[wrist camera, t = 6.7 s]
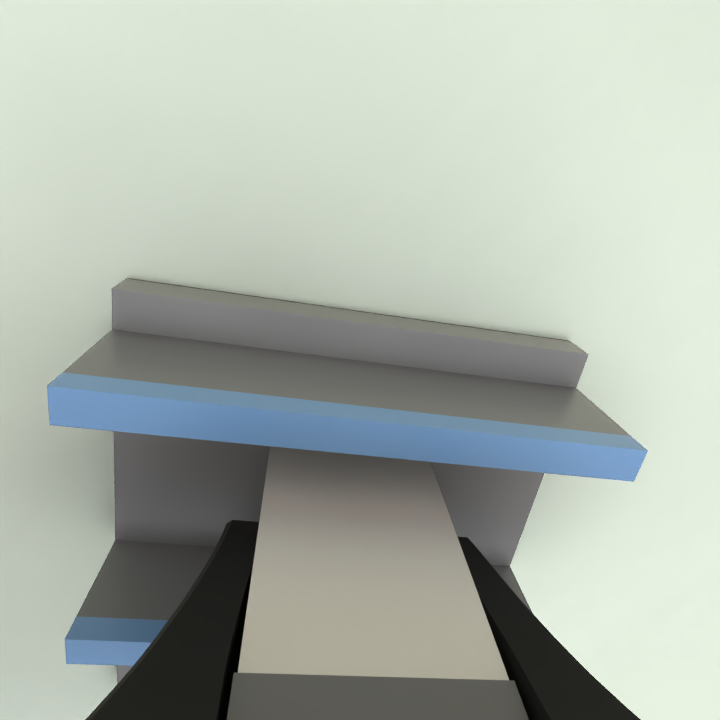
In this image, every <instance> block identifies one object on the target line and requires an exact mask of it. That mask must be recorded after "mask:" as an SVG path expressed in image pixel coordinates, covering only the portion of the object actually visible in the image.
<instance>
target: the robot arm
mask: <svg viewBox="0 0 720 720" xmlns="http://www.w3.org/2000/svg"><path fill="white" fill-rule="evenodd" d="M258 527H259V522H255V521H242V520H231V521H230V522H228V523H227V524H226V526H225V528H224V531H223V533H222V535H221V537H220V540H219V542H218V544H217V545H216V547H215V549H214V551H213V553H212V555H211V556H210V558H209V560H208V561H207V563H206V565H205V567H204V568H203V570H202V572H201V573H200V575H199V576H198V578H197V579H196V581H195V582H194V584H193V585H192V587H191V588H190V590H189V592H188V593H187V595H186V596H185V598H184V599H183V601H182V602H181V604H180V605H179V606H178V608H177V609H176V610H175V612H174V613H173V615H172V616H171V617H170V619H169V620H168V621H167V623H166V624H165V625H164V627H163V628H162V629H161V631H160V632H159V634H158V635H157V636H156V638H155V639H154V640H153V642H152V643H151V644H150V645H149V647H148V648H147V649H146V650H145V652H144V653H143V654H142V655H141V657H140V658H139V659H138V660H137V662H136V663H135V664H134V665H133V667H132V668H131V669H130V670H129V671H128V672H127V674H126V675H125V676H124V677H123V678H122V680H121V681H120V682H119V683H118V684H117V685H116V687H115V688H114V689H113V690H112V691H111V692H110V693H109V695H108V696H107V697H106V698H105V699H104V700H103V701H102V702H101V703H100V704H99V706H98V707H97V708H96V709H95V710H94V711H93V712H92V713H91V714H90V715H89V717H88V718H87V719H86V720H227V715H228V708H229V701H230V695H231V688H232V681H233V675H234V673H238V667H239V660H240V653H241V646H242V639H243V632H244V625H245V618H246V611H247V604H248V597H249V590H250V583H251V576H252V569H253V562H254V555H255V548H256V541H257V534H258ZM458 540H459V543H460V546H461V548H462V551H463V554H464V557H465V559H466V562H467V565H468V568H469V570H470V573H471V576H472V579H473V581H474V584H475V587H476V590H477V592H478V595H479V598H480V601H481V603H482V606H483V609H484V612H485V614H486V617H487V620H488V623H489V626H490V628H491V631H492V634H493V637H494V639H495V642H496V645H497V648H498V650H499V653H500V656H501V659H502V661H503V664H504V667H505V670H506V672H507V675H508V678H509V680H514V681H515V684H516V686H517V689H518V692H519V694H520V697H521V700H522V703H523V705H524V708H525V711H526V713H527V716H528V719H529V720H640V719H639V718H638V717H637V716H636V715H635V714H633V713H632V712H631V711H630V710H629V709H628V708H627V707H625V706H624V705H623V704H622V703H621V702H620V701H619V700H618V699H617V698H616V697H615V696H613V695H612V694H611V693H610V692H609V691H608V690H607V689H606V688H605V687H604V686H603V685H602V684H601V683H599V682H598V681H597V680H596V679H595V678H594V677H593V676H592V675H591V674H590V673H589V672H588V671H587V670H586V669H585V668H584V667H583V666H582V665H581V664H580V663H579V662H578V661H577V660H576V659H575V658H574V657H573V656H572V655H571V654H570V653H569V652H568V651H567V650H566V649H565V648H564V647H563V646H562V645H561V644H560V643H559V642H558V641H557V640H556V639H555V637H554V636H553V635H552V634H551V633H550V632H549V631H548V630H547V629H546V628H545V627H544V626H543V625H542V623H541V622H540V621H539V620H538V619H537V618H536V617H535V616H534V615H533V613H532V612H531V611H530V610H529V609H528V608H527V607H526V606H525V604H524V603H523V602H522V601H521V600H520V599H519V597H518V596H517V595H516V594H515V593H514V592H513V590H512V589H511V588H510V587H509V586H508V585H507V583H506V582H505V581H504V580H503V579H502V577H501V576H500V575H499V574H498V573H497V572H496V570H495V569H494V568H493V567H492V566H491V564H490V563H489V562H488V561H487V559H486V558H485V557H484V556H483V555H482V553H481V552H480V551H479V550H478V549H477V548H476V546H475V545H474V544H473V543H472V542H471V541H470V539H469V538H468V537H458Z"/></svg>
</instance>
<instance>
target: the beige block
mask: <svg viewBox="0 0 720 720" xmlns="http://www.w3.org/2000/svg"><path fill="white" fill-rule="evenodd" d="M227 720H529V719H528V716H527V713H526V711H525V708H524V705H523V703H522V700H521V697H520V694H519V692H518V689H517V686H516V684H515V681H514V680H509V678H508V675H507V672H506V670H505V667H504V664H503V661H502V659H501V656H500V653H499V650H498V648H497V645H496V642H495V639H494V637H493V634H492V631H491V628H490V626H489V623H488V620H487V617H486V614H485V612H484V609H483V606H482V603H481V601H480V598H479V595H478V592H477V590H476V587H475V584H474V581H473V579H472V576H471V573H470V570H469V568H468V565H467V562H466V559H465V557H464V554H463V551H462V548H461V546H460V543H459V540H458V537H457V534H456V532H455V529H454V526H453V523H452V521H451V518H450V515H449V512H448V510H447V507H446V504H445V501H444V499H443V496H442V493H441V490H440V488H439V485H438V482H437V479H436V477H435V474H434V471H433V468H432V466H431V463H430V462H427V461H417V460H407V459H396V458H386V457H376V456H365V455H355V454H345V453H334V452H324V451H314V450H304V449H293V448H283V447H273V446H270V450H269V457H268V464H267V471H266V478H265V485H264V492H263V499H262V506H261V513H260V520H259V527H258V534H257V541H256V548H255V555H254V562H253V569H252V576H251V583H250V590H249V597H248V604H247V611H246V618H245V625H244V632H243V639H242V646H241V653H240V660H239V667H238V673H234V675H233V681H232V688H231V695H230V701H229V708H228V715H227Z"/></svg>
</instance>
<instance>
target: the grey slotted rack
mask: <svg viewBox="0 0 720 720" xmlns="http://www.w3.org/2000/svg"><path fill="white" fill-rule="evenodd" d="M587 357H588V354H587V353H586V352H584V351H583V350H582V349H580V348H579V347H577V346H576V345H575V344H573V343H572V342H570V341H564V340H557V339H550V338H543V337H536V336H529V335H522V334H515V333H508V332H501V331H494V330H487V329H480V328H473V327H466V326H459V325H452V324H444V323H437V322H430V321H423V320H416V319H409V318H402V317H395V316H388V315H381V314H374V313H367V312H360V311H353V310H346V309H339V308H332V307H325V306H318V305H311V304H304V303H296V302H289V301H282V300H275V299H268V298H261V297H254V296H247V295H240V294H233V293H226V292H219V291H212V290H205V289H198V288H191V287H184V286H177V285H170V284H163V283H156V282H148V281H141V280H134V279H125V280H124V281H122V282H121V283H119V284H118V285H116V286H115V287H113V288H112V330H111V331H110V332H109V333H108V334H106V335H105V336H104V337H103V338H102V339H101V340H100V341H98V342H97V343H96V344H95V345H94V346H93V347H91V348H90V349H89V350H88V351H87V352H86V353H85V354H83V355H82V356H81V357H80V358H79V359H78V360H77V361H75V362H74V363H73V364H72V365H71V366H70V367H68V368H67V369H66V370H65V371H64V372H63V373H62V374H60V375H59V376H58V377H57V378H56V379H55V380H53V381H52V382H51V383H50V384H49V385H48V386H47V391H48V406H49V420H50V425H56V426H66V427H77V428H87V429H97V430H108V431H114V476H115V542H114V544H113V546H112V548H111V550H110V552H109V554H108V556H107V558H106V560H105V562H104V564H103V566H102V568H101V570H100V571H99V573H98V575H97V577H96V579H95V581H94V583H93V585H92V587H91V589H90V591H89V593H88V595H87V597H86V599H85V601H84V603H83V605H82V607H81V609H80V611H79V613H78V615H77V617H76V618H75V620H74V622H73V624H72V626H71V628H70V630H69V632H68V634H67V636H66V638H65V649H66V664H93V665H117V682H118V683H119V682H120V681H121V680H122V678H123V677H124V676H125V675H126V674H127V672H128V671H129V670H130V669H131V668H132V667H133V665H134V664H135V663H136V662H137V660H138V659H139V658H140V657H141V655H142V654H143V653H144V652H145V650H146V649H147V648H148V647H149V645H150V644H151V643H152V642H153V640H154V639H155V638H156V636H157V635H158V634H159V632H160V631H161V629H162V628H163V627H164V625H165V624H166V623H167V621H168V620H169V619H170V617H171V616H172V615H173V613H174V612H175V610H176V609H177V608H178V606H179V605H180V604H181V602H182V601H183V599H184V598H185V596H186V595H187V593H188V592H189V590H190V588H191V587H192V585H193V584H194V582H195V581H196V579H197V578H198V576H199V575H200V573H201V572H202V570H203V568H204V567H205V565H206V563H207V561H208V560H209V558H210V556H211V555H212V553H213V551H214V549H215V547H216V545H217V544H218V542H219V540H220V537H221V535H222V533H223V531H224V528H225V526H226V524H227V523H228V522H230V521H231V520H242V521H255V522H259V520H260V513H261V506H262V499H263V492H264V485H265V478H266V471H267V464H268V457H269V450H270V446H273V447H283V448H293V449H304V450H314V451H324V452H334V453H345V454H355V455H365V456H376V457H386V458H396V459H407V460H417V461H427V462H430V463H431V466H432V468H433V471H434V474H435V477H436V479H437V482H438V485H439V488H440V490H441V493H442V496H443V499H444V501H445V504H446V507H447V510H448V512H449V515H450V518H451V521H452V523H453V526H454V529H455V532H456V534H457V537H468V538H469V539H470V541H471V542H472V543H473V544H474V545H475V546H476V548H477V549H478V550H479V551H480V552H481V553H482V555H483V556H484V557H485V558H486V559H487V561H488V562H489V563H490V564H491V566H492V567H493V568H494V569H495V570H496V572H497V573H498V574H499V575H500V576H501V577H502V579H503V580H504V581H505V582H506V583H507V585H508V586H509V587H510V588H511V589H512V590H513V592H514V593H515V594H516V595H517V596H518V597H519V599H520V600H521V601H522V602H523V603H524V604H525V606H526V607H527V608H528V609H529V610H530V611H531V609H530V607H529V605H528V603H527V601H526V599H525V597H524V595H523V593H522V591H521V589H520V586H519V584H518V582H517V580H516V578H515V576H514V574H513V572H512V570H511V568H510V564H511V561H512V558H513V556H514V553H515V550H516V547H517V545H518V542H519V539H520V537H521V534H522V531H523V529H524V526H525V523H526V521H527V518H528V515H529V513H530V510H531V507H532V505H533V502H534V499H535V496H536V494H537V491H538V488H539V486H540V483H541V480H542V478H543V475H544V473H551V474H561V475H572V476H582V477H592V478H603V479H613V480H623V481H633V482H634V480H635V478H636V476H637V473H638V471H639V469H640V467H641V465H642V462H643V460H644V458H645V456H646V454H647V450H646V449H645V448H644V447H643V446H642V445H640V444H639V443H638V442H637V441H636V440H635V439H634V438H632V437H631V436H630V435H629V434H628V433H627V432H626V431H624V430H623V429H622V428H621V427H620V426H619V425H618V424H616V423H615V422H614V421H613V420H612V419H611V418H610V417H608V416H607V415H606V414H605V413H604V412H603V411H602V410H600V409H599V408H598V407H597V406H596V405H595V404H594V403H592V402H591V401H590V400H589V399H588V398H587V397H586V396H584V395H583V394H582V393H581V392H580V391H579V390H578V389H576V386H577V384H578V381H579V378H580V376H581V373H582V370H583V368H584V365H585V362H586V360H587ZM531 612H532V611H531Z"/></svg>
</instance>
